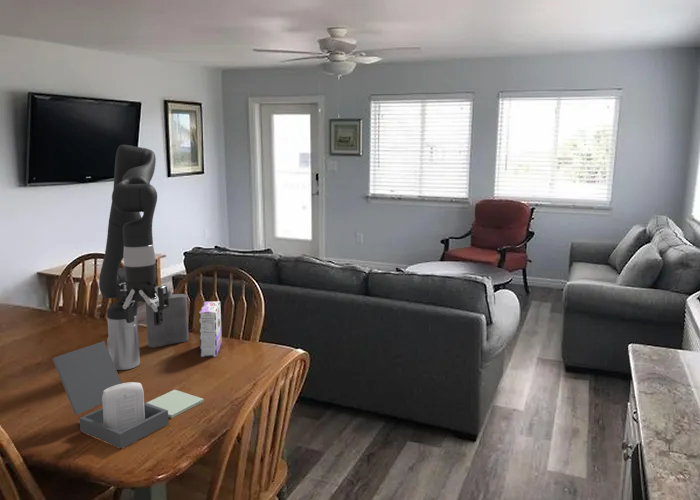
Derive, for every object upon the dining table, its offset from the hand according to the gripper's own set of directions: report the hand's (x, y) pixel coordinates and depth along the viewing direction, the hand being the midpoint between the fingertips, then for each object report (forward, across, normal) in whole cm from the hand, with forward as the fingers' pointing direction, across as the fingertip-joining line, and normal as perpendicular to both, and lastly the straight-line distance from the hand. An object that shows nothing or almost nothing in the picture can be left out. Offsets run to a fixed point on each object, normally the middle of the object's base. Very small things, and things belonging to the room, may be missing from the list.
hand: (144, 323), depth 151 cm
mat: (+28, +1, -11) cm, 30 cm away
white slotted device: (+28, +5, +5) cm, 29 cm away
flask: (+27, +33, -55) cm, 69 cm away
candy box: (+28, +14, -53) cm, 62 cm away
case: (+28, +5, +5) cm, 28 cm away
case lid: (+16, +17, +2) cm, 23 cm away
